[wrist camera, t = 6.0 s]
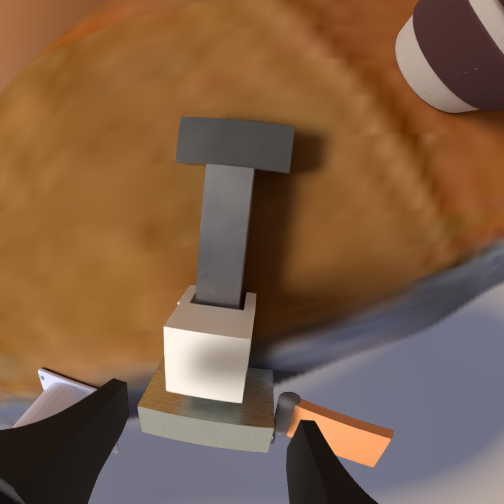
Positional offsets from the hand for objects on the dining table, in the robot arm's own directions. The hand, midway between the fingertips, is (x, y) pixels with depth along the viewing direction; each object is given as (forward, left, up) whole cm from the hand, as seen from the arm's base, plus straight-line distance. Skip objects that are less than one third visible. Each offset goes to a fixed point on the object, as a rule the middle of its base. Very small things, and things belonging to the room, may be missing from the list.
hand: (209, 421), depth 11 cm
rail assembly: (+3, +1, -9) cm, 10 cm away
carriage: (0, +1, -9) cm, 9 cm away
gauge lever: (-5, -7, -5) cm, 10 cm away
